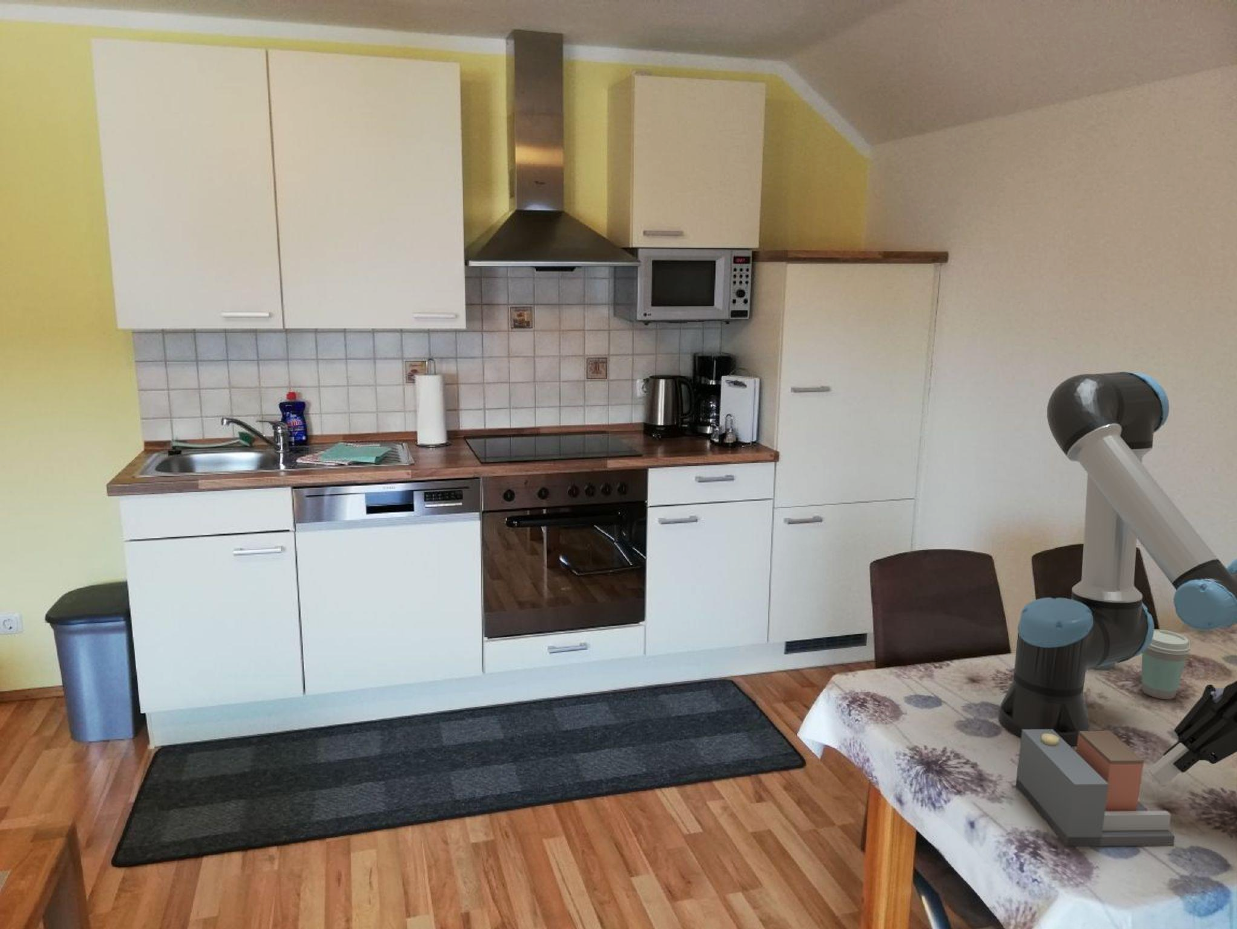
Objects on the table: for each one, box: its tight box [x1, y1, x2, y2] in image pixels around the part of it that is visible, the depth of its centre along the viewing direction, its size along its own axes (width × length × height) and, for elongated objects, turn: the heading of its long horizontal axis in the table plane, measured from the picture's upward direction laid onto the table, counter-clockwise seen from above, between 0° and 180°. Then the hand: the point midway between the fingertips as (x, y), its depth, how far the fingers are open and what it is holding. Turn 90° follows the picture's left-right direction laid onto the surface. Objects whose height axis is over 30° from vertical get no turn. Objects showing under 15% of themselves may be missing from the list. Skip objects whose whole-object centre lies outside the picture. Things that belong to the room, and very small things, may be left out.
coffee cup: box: [1141, 629, 1191, 700], centre depth 181 cm, size 8×8×12 cm
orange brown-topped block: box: [1075, 730, 1145, 811], centre depth 139 cm, size 5×9×10 cm, turn 2°
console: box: [1015, 729, 1176, 847], centre depth 139 cm, size 16×16×11 cm
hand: (1155, 777), depth 140 cm, fingers closed
